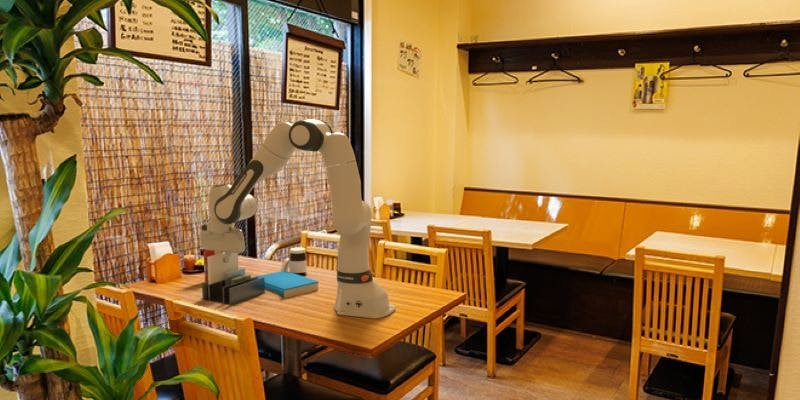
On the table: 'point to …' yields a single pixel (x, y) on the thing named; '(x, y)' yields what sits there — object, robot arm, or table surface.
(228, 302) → the rack
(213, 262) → the tall sheet
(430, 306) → the table surface
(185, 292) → the table surface
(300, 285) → the book
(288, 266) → the striped mug
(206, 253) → the soda can
